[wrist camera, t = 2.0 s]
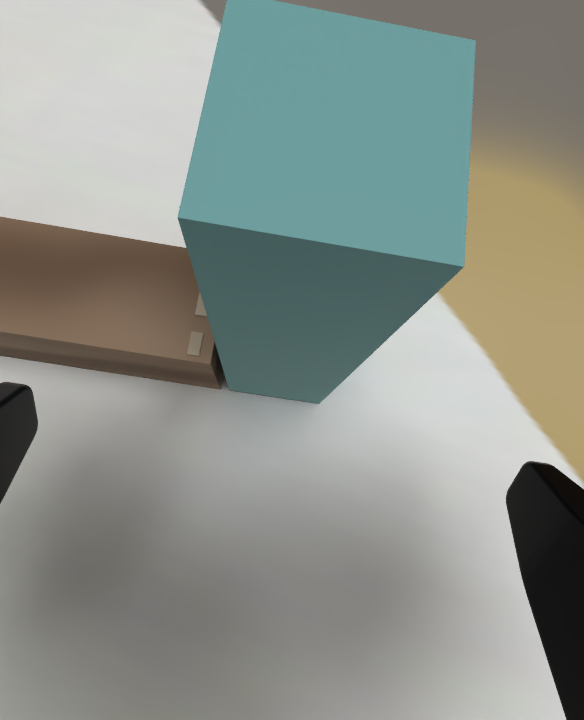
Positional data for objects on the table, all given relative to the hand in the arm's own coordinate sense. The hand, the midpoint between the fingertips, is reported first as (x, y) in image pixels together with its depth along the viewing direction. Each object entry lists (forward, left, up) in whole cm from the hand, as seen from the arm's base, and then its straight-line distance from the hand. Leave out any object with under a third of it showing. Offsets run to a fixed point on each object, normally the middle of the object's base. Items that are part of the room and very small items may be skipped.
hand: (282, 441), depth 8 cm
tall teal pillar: (+2, +4, -12) cm, 12 cm away
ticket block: (-6, +8, -12) cm, 16 cm away
